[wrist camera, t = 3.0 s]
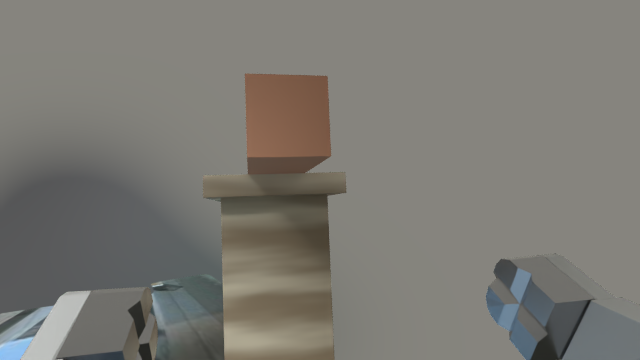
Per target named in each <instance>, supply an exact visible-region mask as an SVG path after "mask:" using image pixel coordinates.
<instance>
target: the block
mask: <svg viewBox="0 0 640 360" xmlns="http://www.w3.org/2000/svg"><path fill="white" fill-rule="evenodd" d="M245 93H246V126H247V127H246V129H247V162H248V174H288V173H305V172H307V171H309V170H310V169H312V168H314V167H315V166H317V165H318V164H320V163H321V162H323V161H324V160H326V159H327V158H329V157H330V156H331V144H330V124H329V99H328V77H327V76H310V75H275V74H245Z"/></svg>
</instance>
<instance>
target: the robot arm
mask: <svg viewBox="0 0 640 360" xmlns="http://www.w3.org/2000/svg"><path fill="white" fill-rule="evenodd" d="M494 274H495V276H496V279H495V280H494V282H492V283H491V285H489V287H488V291H487V295H486V301H487V307H488V310H489V312H490V314H491V316H492V317H493V319H494V320H495V321H496V323H497V324H498V325H500V326H502V327H503V328H505V329H507V330H508V331H509V336H510V340H511V342H512V343H513V344H514V345H515V347H516V348H517V349H518V350H519V352H520V353H521V354H522V355H523V357H524V358H525V359H526V360H640V305H639V304H637V303H634V302H632V301H630V300H627V299H625V298H622V297H619V298H616V297H615V296H613V295H612V294H611V293H609V292H608V291H607V290H605V289H604V288H603V287H602V286H600V285H599V284H598V283H597V282H595V281H594V280H593V279H592V278H590V277H589V276H588V275H586V274H585V273H584V272H582V271H581V270H580V269H579V268H577V267H576V266H575V265H573V264H572V263H571V262H570V261H569V260H567V259H566V258H565V257H563V256H561V255H558V254H546V255H537V256H529V257H517V258H507V259H501V260H500V261H499V262H498V263H497V264H496V266H495V269H494ZM152 303H153V300H152V295H151V291H150V289H149V288H148V287H138V288H121V289H104V290H94V291H76V292H66V293H65V294H63V295H62V296H61V297H60V298H59V299H58V301H57V302H56V304H55V305H54V307H53V308H52V310H51V312H50V313H49V315H48V316H47V318H46V319H45V321H44V323H43V324H42V326H41V327H40V329H39V331H38V332H37V334H36V335H35V337H34V338H33V340H32V342H31V343H30V345H29V346H28V348H27V349H26V351H25V353H24V354H23V356H22V357H21V359H20V360H155V356H156V350H157V340H158V331H157V322H156V317H154V316H153V315H152V314H150V310H151V306H152Z"/></svg>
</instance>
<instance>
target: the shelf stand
mask: <svg viewBox="0 0 640 360" xmlns="http://www.w3.org/2000/svg"><path fill="white" fill-rule="evenodd" d="M340 193H346V175H345V172H332V173H331V172H329V173H288V174H247V175H206V176H203V197H204V198H207V199H211V200H215V201H219V202H221V219H222V220H221V221H222V265H223V311H224V355H225V360H334V339H333V319H332V318H333V316H332V295H331V294H332V293H331V270H330V248H329V224H328V202H327V196H328V195H335V194H340Z"/></svg>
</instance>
